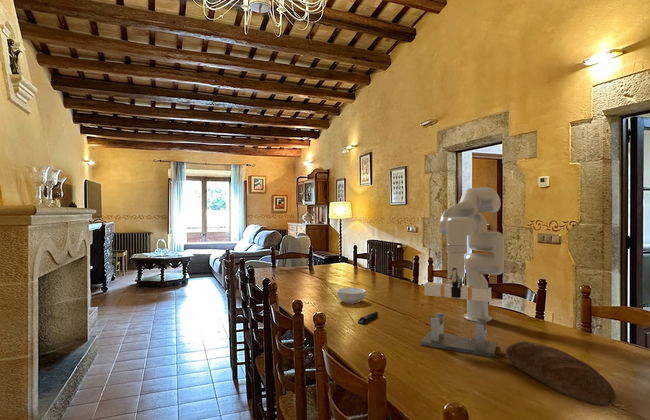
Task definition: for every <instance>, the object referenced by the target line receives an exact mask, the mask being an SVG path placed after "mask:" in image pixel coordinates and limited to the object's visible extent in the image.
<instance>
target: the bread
mask: <svg viewBox="0 0 650 420" xmlns="http://www.w3.org/2000/svg"><path fill="white" fill-rule="evenodd" d="M504 354H505V356H506V358H507V360H509V362H510V363H511V364H512V365H513V366H514V367H515V368H517V369H519V370H520V371H522V372H523V373H525V374H526V375H528V376H530V377H531V378H533V379H536V380H537V381H539V382H541V383H543V384H544V385H545V386H548V387H550V388H551V389H554V390H555V391H557V392H559V393H561V394H564V395H566V396H568V397H571V398H573V397H574V398H573V399H576V398H577V400H579V399H580V401H582V400H583V401H582V402H585V401H586V403H589V404H592V405H593V404H594V405H597V406H606V405H610V404H613V403H614V402H615V400H616V398H617V396H616V393H615V390H614V388H613V386H612V385H611V383H610V382H609V381H608V380H607V379H606V378H605V377H604V376H603V375H601V373H599V371H597V370H596V369H595V368H594V367H592V365H589V364H588V363H586V362H584V361H583V360H580V359H578V358H577V357H574V356H573V355H570V354H569V353H567V352H565V351H562V350H561V349H558V348H554V347H553V346H552V347H551V346H549V345H548V346H547V345H545V344H541V343H538V342H537V343H536V342H530V341H526V340H525V341H524V340H522V341H517V342H513V343H511V344H508V346H507V347H506V348H505V352H504Z"/></svg>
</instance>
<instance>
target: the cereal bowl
mask: <svg viewBox="0 0 650 420" xmlns="http://www.w3.org/2000/svg"><path fill="white" fill-rule="evenodd" d="M366 294H367V290H365V289H364V288H359V287H341V288H337V290H336V295H337V298H338V299H339V300H340V301H342V302H344V304H348V303H351V304H350V305H354V303H356V304H359V302H362V301H363V300H364V299H365V298H366V296H367V295H366Z"/></svg>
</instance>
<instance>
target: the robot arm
mask: <svg viewBox="0 0 650 420" xmlns="http://www.w3.org/2000/svg"><path fill="white" fill-rule="evenodd" d="M501 204H502V203H501V198H500V196H499V194H498V192H497V191H496V190H495V189H494V188H493V187H470V188H467V189H466V190H464V191H463V192H462V195H461V197H460V200H459V201H458V203H457V204H453V206H450V207H448V208H447V209H445V210H444V211H443V213H442V215H441V217H440V219H439V223H438V229H439V231H440V234H442V235H443V236H444V235H445V236H446V254H448V258H447V279H448V280H450V279H451V284H452V287H451V296H452V297H453V299H458V298H460V285H463V278H464V277H465V275H466V286H469V285H470V286H478V287H489V283H488V280H487V279H486V278H485V276H484V275H498V276H499V275H501V274H503V273H504V271H505V238H504V235H503V234H502V233H501V232H500V231H489V230H488V220H487V219H486V217H485V216H484V215H483V214H482V213H497V212H499V210H501V209H500V208H501ZM468 248H469V249H471V250H473V251H477V252H475V253H474V252H473V253H468ZM478 251H479V252H480V251H481V252H492V253H493V254H492V253H478ZM466 254H467V255H466ZM465 255H466V256H465ZM463 318H464V319H466V320H468V321H470V322H475V323H477V319H478V318H483V319H486V323H487V322H491V321H492V316H491V315H489V302H487V301H478V300H468V299H466V313H464V314H463Z"/></svg>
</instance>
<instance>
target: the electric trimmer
mask: <svg viewBox="0 0 650 420" xmlns="http://www.w3.org/2000/svg"><path fill="white" fill-rule="evenodd" d="M378 317H379V313H378V311H375V312H371V313H369V314H367V315H365V316H361V317H360V318H359V319H358V321H357V324H358V325H366V323H368V322H370V321H374V320H375V319H376V318H378Z"/></svg>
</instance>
